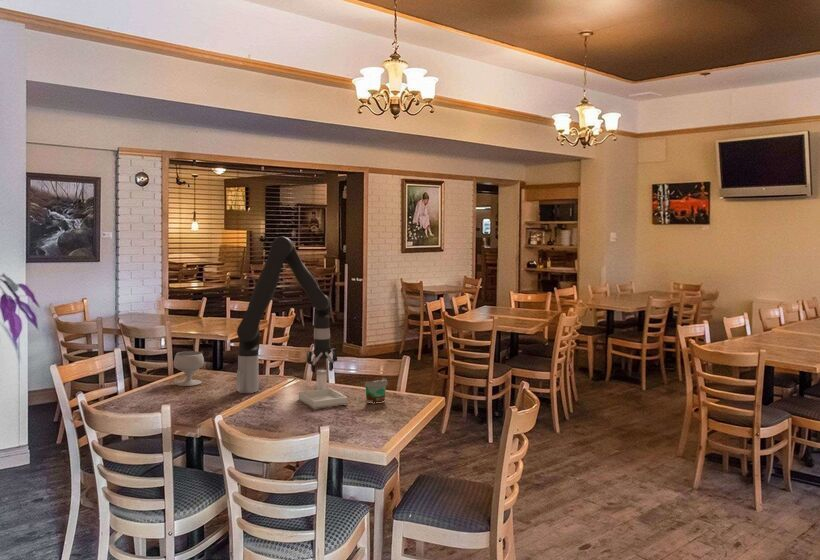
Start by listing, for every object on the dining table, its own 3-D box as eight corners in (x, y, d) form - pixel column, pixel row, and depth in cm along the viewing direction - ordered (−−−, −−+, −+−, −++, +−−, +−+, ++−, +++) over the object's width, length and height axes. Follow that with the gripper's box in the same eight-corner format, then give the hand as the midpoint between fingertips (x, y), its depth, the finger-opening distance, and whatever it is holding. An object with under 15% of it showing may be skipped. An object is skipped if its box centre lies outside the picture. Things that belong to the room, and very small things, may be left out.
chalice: (199, 379, 322) (199, 349, 321) (207, 385, 311) (207, 354, 309) (170, 382, 314) (170, 352, 313) (178, 388, 303) (177, 357, 302)
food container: (375, 406, 278) (375, 383, 277) (364, 404, 282) (364, 381, 281) (392, 401, 288) (393, 379, 287) (382, 398, 291) (382, 376, 291)
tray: (314, 409, 271) (314, 401, 271) (298, 399, 286) (298, 392, 286) (347, 405, 279) (347, 397, 279) (331, 396, 294) (331, 388, 294)
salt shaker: (318, 393, 299) (319, 372, 298) (315, 391, 303) (315, 370, 302) (328, 392, 301) (328, 371, 300) (324, 390, 305) (324, 369, 304)
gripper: (332, 335, 307) (332, 368, 308) (304, 337, 300) (304, 371, 301) (339, 337, 300) (339, 371, 302) (310, 339, 293) (311, 374, 294)
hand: (322, 371), depth 301 cm, fingers open, 8 cm apart
